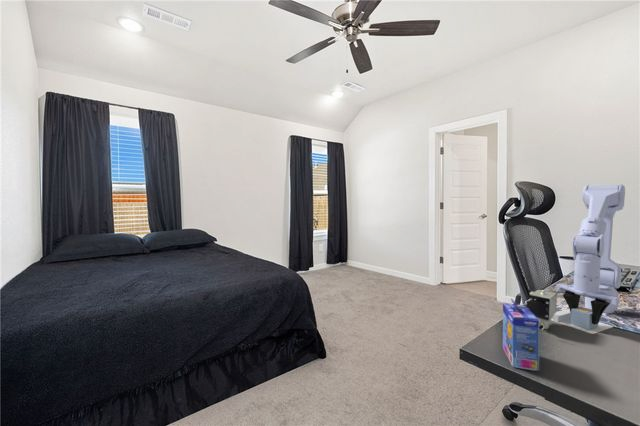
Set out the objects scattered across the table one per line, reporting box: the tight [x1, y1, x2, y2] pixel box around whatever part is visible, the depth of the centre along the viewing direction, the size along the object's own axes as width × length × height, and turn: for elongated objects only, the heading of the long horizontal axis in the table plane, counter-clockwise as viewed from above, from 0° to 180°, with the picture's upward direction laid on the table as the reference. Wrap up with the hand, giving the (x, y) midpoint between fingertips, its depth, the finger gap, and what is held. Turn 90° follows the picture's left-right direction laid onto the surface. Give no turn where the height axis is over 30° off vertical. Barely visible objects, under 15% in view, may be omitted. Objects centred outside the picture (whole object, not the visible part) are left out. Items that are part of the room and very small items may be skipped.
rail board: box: [550, 308, 615, 335], centre depth 90 cm, size 12×11×3 cm
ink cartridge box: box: [502, 298, 540, 372], centre depth 72 cm, size 10×6×14 cm, turn 161°
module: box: [571, 306, 598, 329], centre depth 88 cm, size 5×4×5 cm
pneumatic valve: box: [526, 288, 558, 330], centre depth 88 cm, size 6×12×12 cm, turn 130°
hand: (584, 320), depth 88 cm, fingers closed on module, 4 cm apart
